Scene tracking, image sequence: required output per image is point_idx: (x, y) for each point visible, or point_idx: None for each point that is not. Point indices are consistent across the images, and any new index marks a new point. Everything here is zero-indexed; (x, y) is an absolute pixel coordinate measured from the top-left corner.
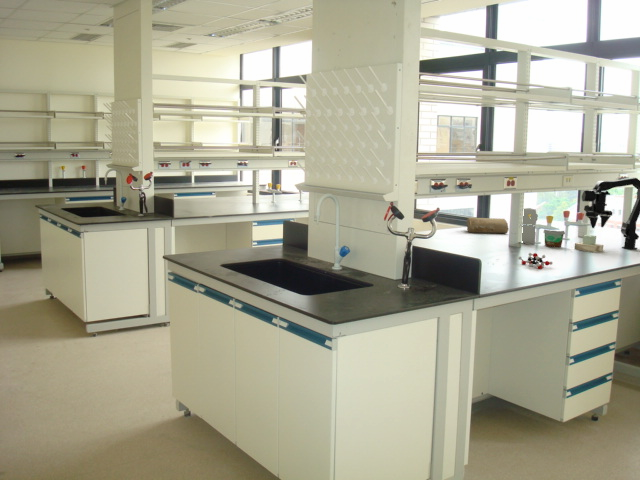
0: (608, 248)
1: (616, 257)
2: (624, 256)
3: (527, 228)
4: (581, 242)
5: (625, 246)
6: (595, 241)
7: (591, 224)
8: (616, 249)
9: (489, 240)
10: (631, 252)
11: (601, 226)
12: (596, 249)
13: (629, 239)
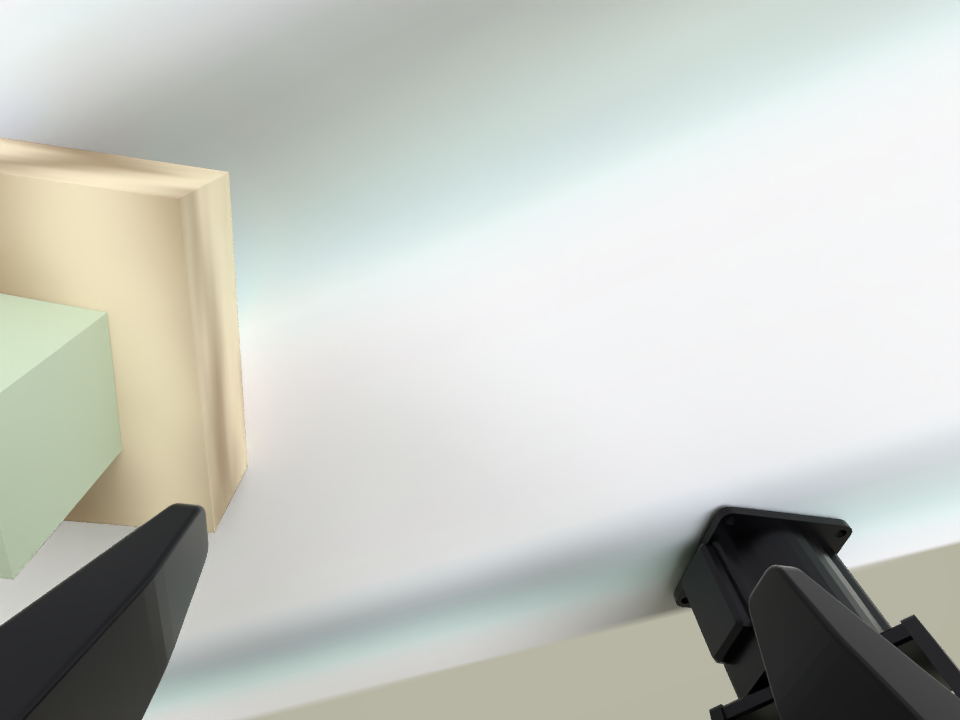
0: (537, 430)
1: None
2: (165, 680)
3: None
4: (17, 188)
5: (699, 568)
6: (80, 487)
7: (18, 623)
8: (544, 509)
9: None
10: (479, 642)
11: (780, 589)
12: None
13: (740, 690)
